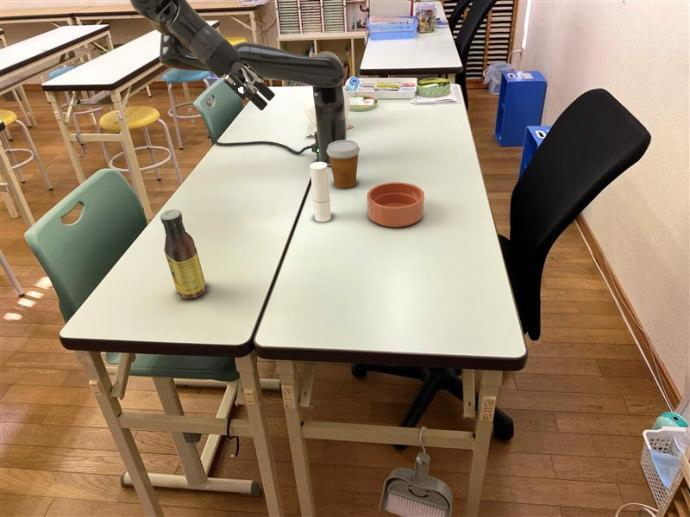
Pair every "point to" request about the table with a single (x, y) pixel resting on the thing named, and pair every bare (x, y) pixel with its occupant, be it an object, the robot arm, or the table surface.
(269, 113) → the table surface
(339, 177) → the disposable coffee cup
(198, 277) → the sauce bottle
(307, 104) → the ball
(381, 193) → the bowl
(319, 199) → the tube
